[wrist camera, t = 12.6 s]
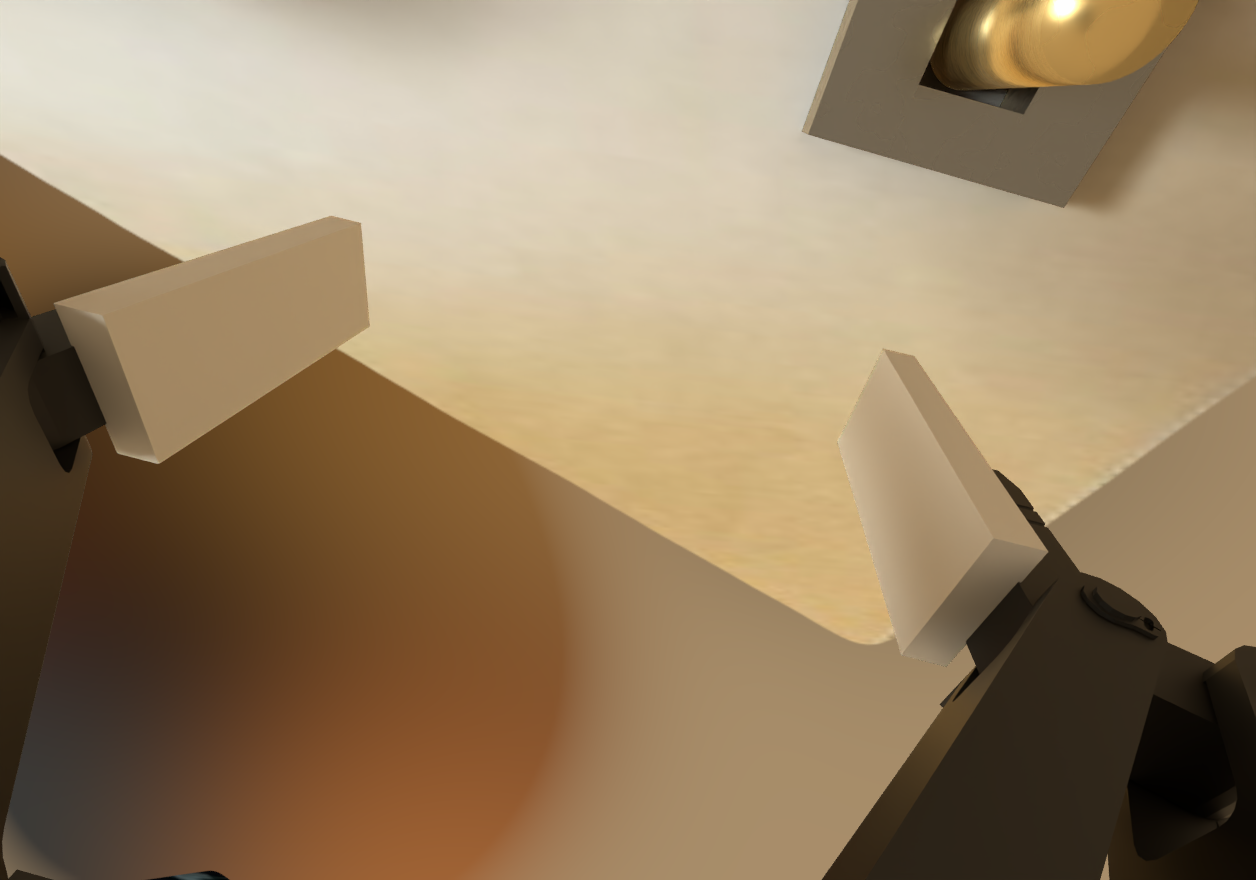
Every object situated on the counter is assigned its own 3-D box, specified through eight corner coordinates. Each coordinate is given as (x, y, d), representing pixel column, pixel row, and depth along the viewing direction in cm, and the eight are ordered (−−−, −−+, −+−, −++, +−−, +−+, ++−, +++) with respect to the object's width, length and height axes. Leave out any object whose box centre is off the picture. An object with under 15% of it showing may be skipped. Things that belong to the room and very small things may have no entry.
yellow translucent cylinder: (913, 77, 30) (1012, 64, 19) (959, -25, 27) (1102, -107, 16) (991, 100, 30) (1136, 99, 19) (1044, -1, 27) (1245, -68, 16)
